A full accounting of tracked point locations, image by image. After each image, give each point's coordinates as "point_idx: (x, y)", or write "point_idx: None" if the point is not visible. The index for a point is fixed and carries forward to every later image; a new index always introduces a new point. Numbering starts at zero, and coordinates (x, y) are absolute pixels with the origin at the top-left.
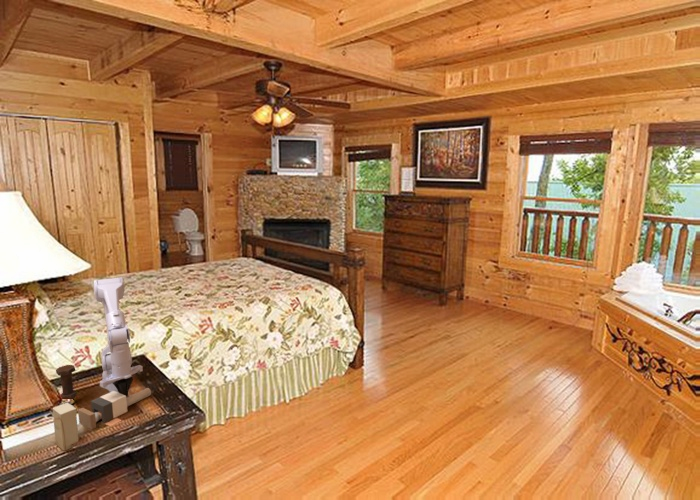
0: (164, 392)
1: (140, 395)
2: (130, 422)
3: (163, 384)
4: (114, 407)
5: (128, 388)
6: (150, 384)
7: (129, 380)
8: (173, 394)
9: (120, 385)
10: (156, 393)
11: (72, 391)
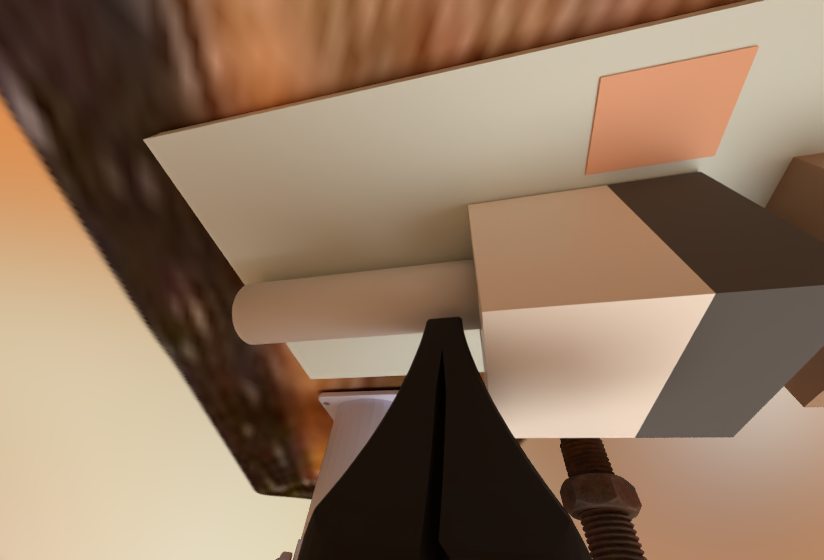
0: (175, 269)
1: (316, 298)
2: (537, 11)
3: (183, 341)
4: (635, 241)
5: (406, 398)
6: (248, 376)
7: (379, 556)
8: (103, 201)
9: (576, 530)
10: (226, 292)
11: (596, 517)
